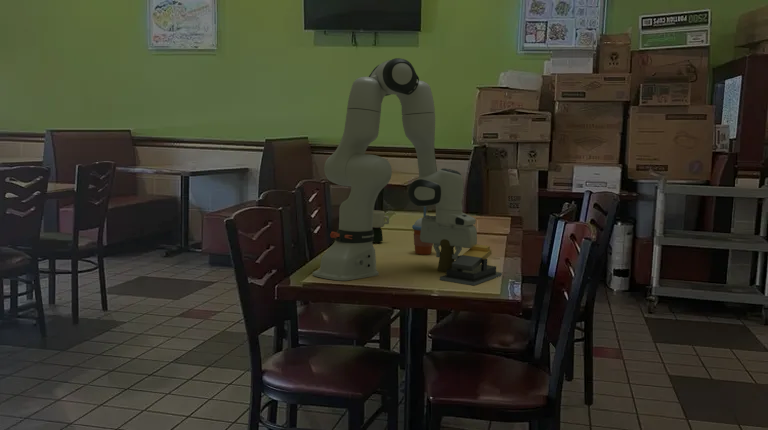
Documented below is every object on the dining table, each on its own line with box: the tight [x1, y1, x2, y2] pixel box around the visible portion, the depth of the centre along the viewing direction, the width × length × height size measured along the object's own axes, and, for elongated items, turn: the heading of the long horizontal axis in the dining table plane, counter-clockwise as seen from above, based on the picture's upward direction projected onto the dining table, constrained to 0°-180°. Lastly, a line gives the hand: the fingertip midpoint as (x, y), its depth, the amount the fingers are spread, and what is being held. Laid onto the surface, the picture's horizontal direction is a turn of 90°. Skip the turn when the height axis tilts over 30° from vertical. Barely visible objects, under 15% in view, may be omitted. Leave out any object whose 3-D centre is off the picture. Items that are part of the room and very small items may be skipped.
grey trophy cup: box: [372, 209, 390, 243], centre depth 290 cm, size 11×7×13 cm, turn 86°
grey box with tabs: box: [439, 254, 503, 286], centre depth 226 cm, size 20×12×7 cm, turn 146°
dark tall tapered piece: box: [437, 239, 455, 273], centre depth 237 cm, size 6×6×11 cm
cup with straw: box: [411, 206, 433, 256], centre depth 268 cm, size 9×9×18 cm
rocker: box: [452, 243, 493, 271], centre depth 225 cm, size 14×7×3 cm, turn 146°
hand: (446, 258), depth 237 cm, fingers closed on dark tall tapered piece, 5 cm apart
